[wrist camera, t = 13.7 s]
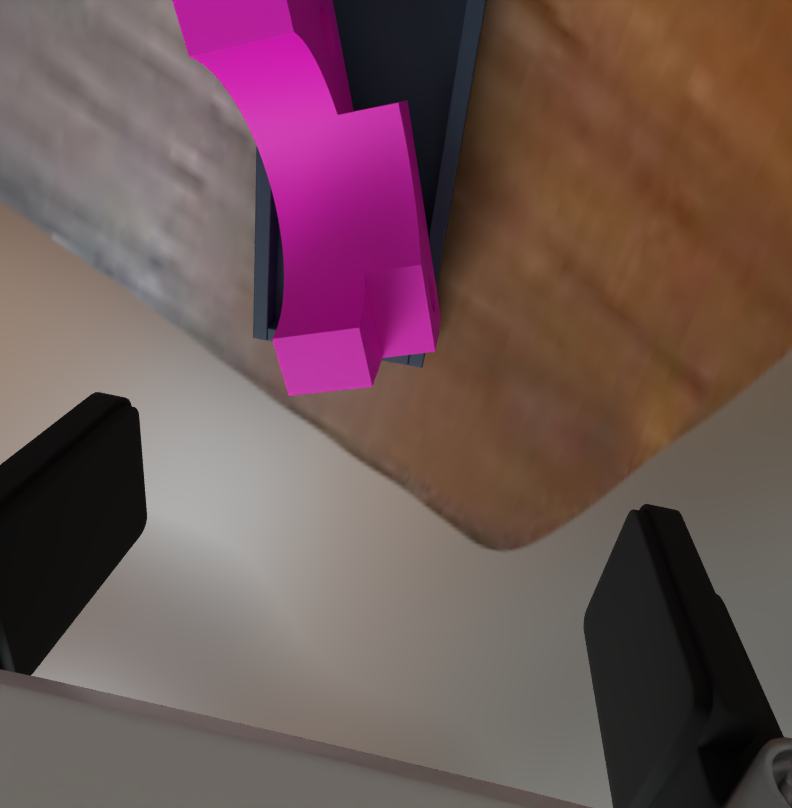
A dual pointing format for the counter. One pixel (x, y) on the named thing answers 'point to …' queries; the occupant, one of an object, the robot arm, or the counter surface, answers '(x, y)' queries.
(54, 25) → the counter surface
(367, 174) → the toy block
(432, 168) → the rectangular tray
